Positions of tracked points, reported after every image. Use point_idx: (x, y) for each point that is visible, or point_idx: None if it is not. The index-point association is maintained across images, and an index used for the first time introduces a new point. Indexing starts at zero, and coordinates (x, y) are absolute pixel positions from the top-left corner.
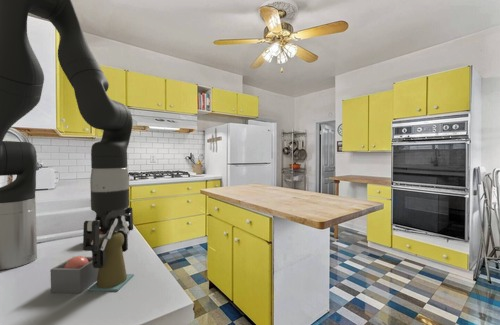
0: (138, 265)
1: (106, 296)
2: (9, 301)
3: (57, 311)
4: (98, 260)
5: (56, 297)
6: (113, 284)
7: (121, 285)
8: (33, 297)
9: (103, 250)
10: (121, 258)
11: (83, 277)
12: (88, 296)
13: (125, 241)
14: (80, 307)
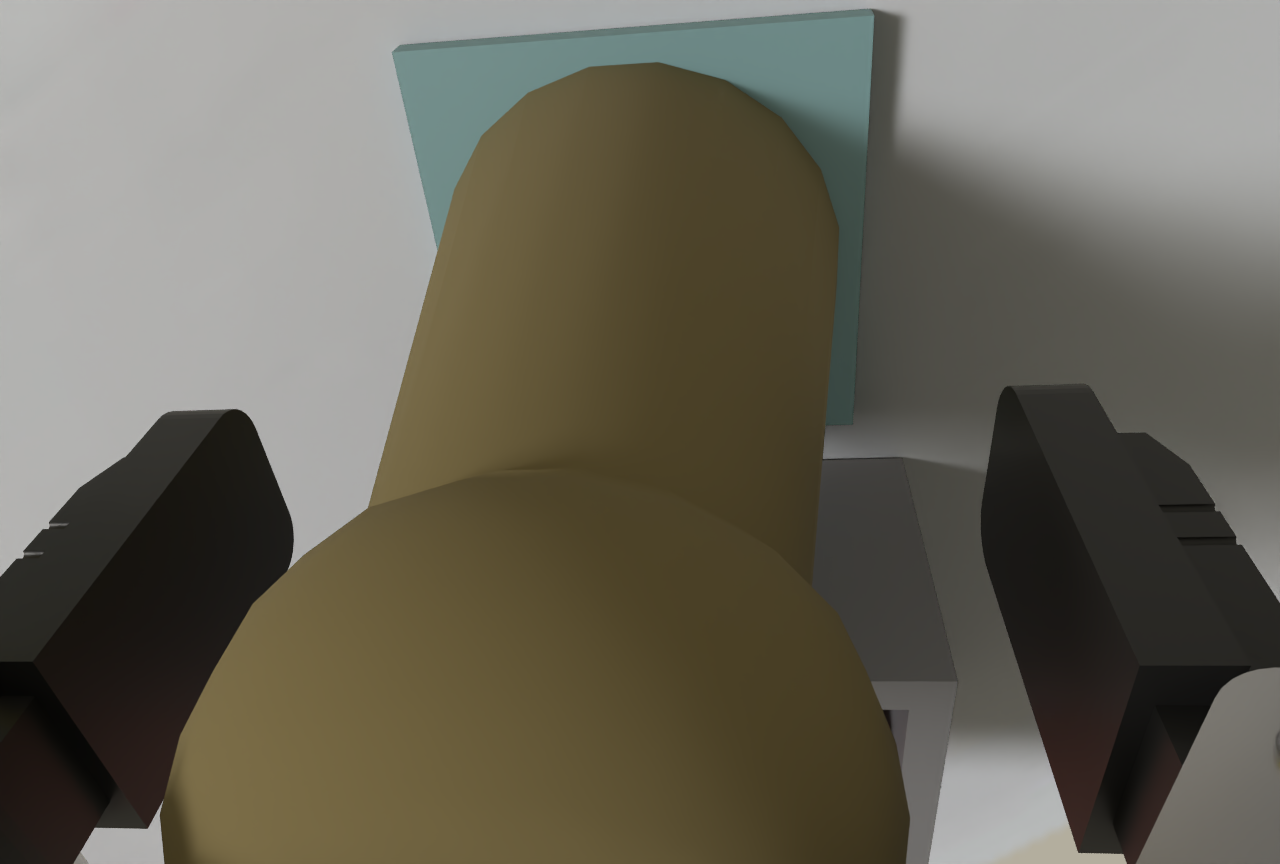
0: (96, 179)
1: (1004, 93)
2: (992, 841)
3: (1249, 442)
4: (1223, 537)
5: (966, 607)
6: (796, 152)
7: (761, 29)
8: (948, 753)
9: (1217, 661)
10: (587, 281)
11: (863, 570)
12: (978, 329)
13: (120, 567)
14: (1226, 261)
